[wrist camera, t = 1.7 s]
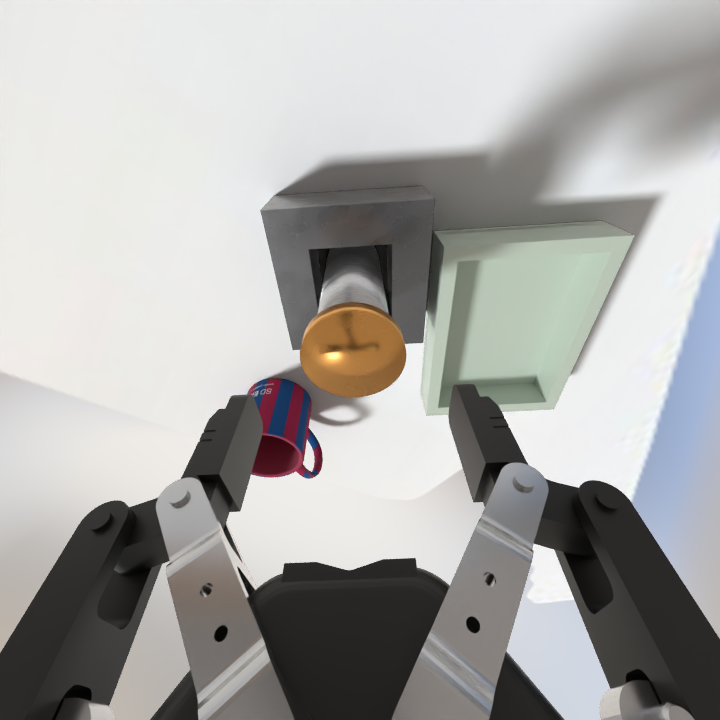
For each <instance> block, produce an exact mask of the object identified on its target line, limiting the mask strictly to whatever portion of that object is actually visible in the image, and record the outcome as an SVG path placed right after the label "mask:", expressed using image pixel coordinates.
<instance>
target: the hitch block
mask: <svg viewBox="0 0 720 720" xmlns="http://www.w3.org/2000/svg"><path fill="white" fill-rule="evenodd" d="M434 203H435V199H434V198H433V196H432V195H431V194H430V193H429V192H428V191H427V190H426V189H425V188H424V186H410V187H395V188H380V189H365V190H349V191H334V192H319V193H304V194H289V195H274V196H273V197H272V198H271V199H270V200H269V202H268V203H267V204H266V205H265V206H264V207H263V208H262V209H261V210H260V211H261V215H262V219H263V223H264V228H265V232H266V236H267V241H268V245H269V249H270V254H271V258H272V262H273V267H274V271H275V275H276V279H277V284H278V288H279V292H280V297H281V301H282V305H283V310H284V314H285V318H286V323H287V327H288V331H289V335H290V340H291V344H292V348H293V350H300V349H301V345H302V340H303V336H304V332H305V330H306V327H307V326H308V324H309V323H310V321H311V320H312V319H313V318H314V317H315V316H316V315H317V314H318V309H319V303H320V298H321V292H322V280H321V273H320V265H319V258H318V251H317V249H324V248H340V247H356V246H372V245H387V292H385V296H386V302H387V308H388V313H389V315H390V316H391V317H392V318H393V319H394V320H395V321H396V322H397V324H398V325H399V327H400V329H401V332H402V335H403V340H404V344H408V343H423V338H424V326H425V314H426V301H427V289H428V277H429V264H430V252H431V240H432V227H433V215H434Z"/></svg>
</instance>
